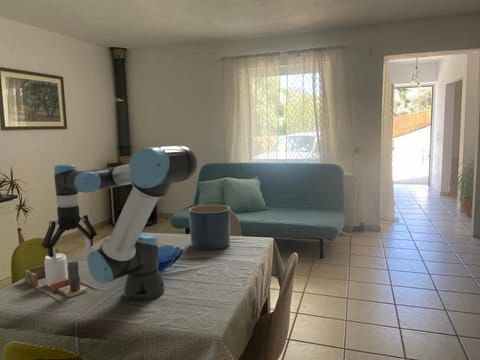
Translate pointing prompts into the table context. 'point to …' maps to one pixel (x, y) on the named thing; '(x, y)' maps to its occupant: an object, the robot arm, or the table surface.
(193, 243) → the planter
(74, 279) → the rod slider
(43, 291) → the pitch lines
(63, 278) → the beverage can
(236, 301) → the table surface
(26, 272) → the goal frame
